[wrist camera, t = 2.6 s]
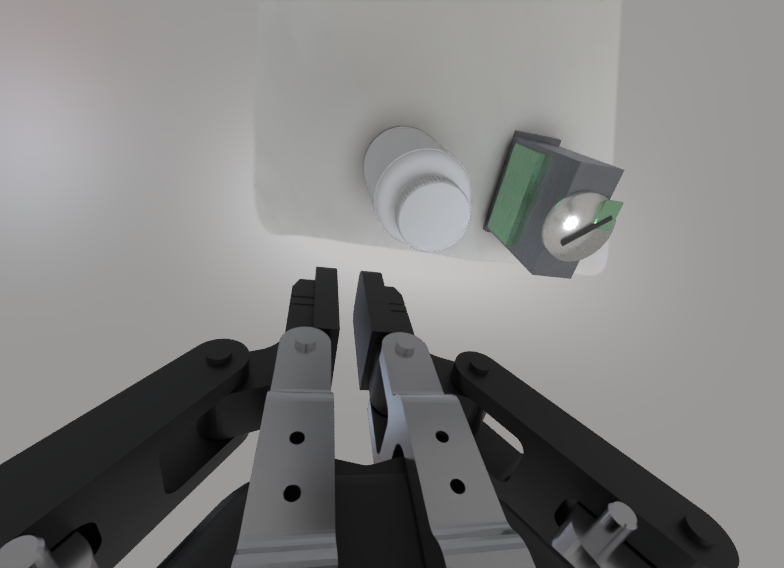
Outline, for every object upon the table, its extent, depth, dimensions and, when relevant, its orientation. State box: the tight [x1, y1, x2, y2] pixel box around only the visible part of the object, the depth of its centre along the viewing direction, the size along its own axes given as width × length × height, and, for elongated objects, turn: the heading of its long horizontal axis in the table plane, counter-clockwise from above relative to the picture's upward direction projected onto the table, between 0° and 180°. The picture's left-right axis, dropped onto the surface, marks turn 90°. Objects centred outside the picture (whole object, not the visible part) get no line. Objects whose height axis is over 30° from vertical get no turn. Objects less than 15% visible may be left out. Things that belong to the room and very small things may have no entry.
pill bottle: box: [364, 127, 472, 252], centre depth 32 cm, size 8×8×15 cm
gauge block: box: [483, 131, 624, 278], centre depth 35 cm, size 6×11×13 cm, turn 169°
